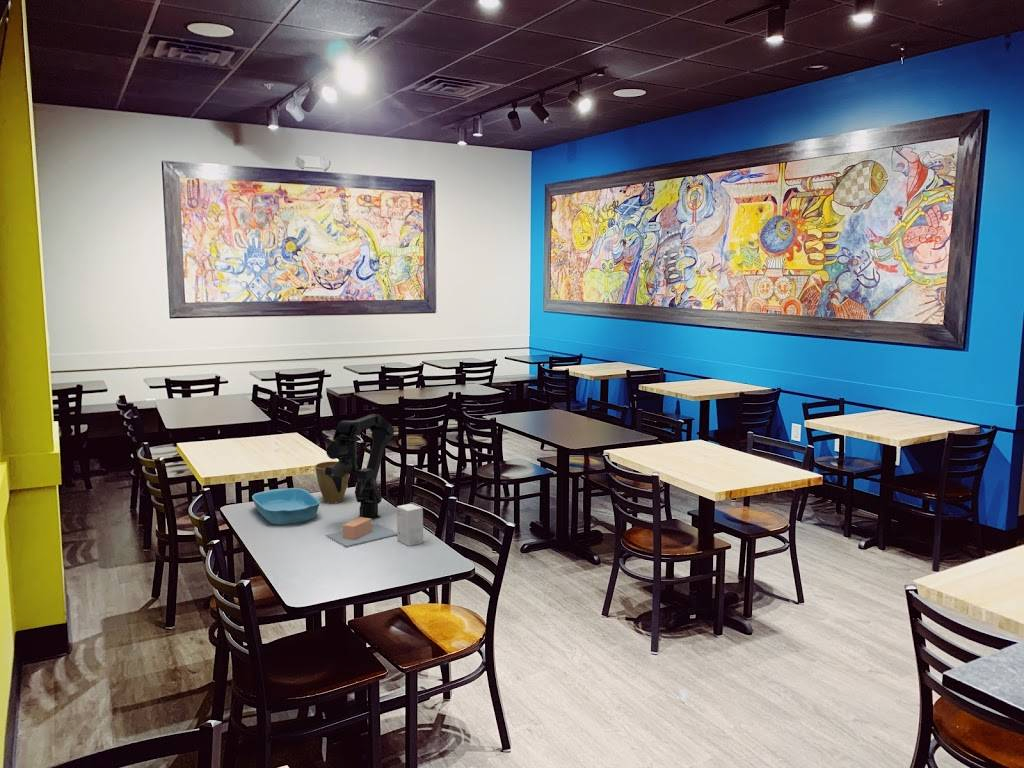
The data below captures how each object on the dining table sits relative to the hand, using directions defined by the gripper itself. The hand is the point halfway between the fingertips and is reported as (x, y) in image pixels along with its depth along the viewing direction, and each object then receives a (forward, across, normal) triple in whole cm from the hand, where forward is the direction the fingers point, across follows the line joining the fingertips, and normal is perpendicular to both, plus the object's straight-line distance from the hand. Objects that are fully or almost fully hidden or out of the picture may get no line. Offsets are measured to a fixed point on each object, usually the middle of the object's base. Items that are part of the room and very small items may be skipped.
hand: (349, 493), depth 299 cm
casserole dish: (+14, -33, +3) cm, 36 cm away
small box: (+13, +30, -7) cm, 34 cm away
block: (+10, +10, -4) cm, 14 cm away
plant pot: (+13, -27, +27) cm, 40 cm away
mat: (+13, +11, -8) cm, 18 cm away
